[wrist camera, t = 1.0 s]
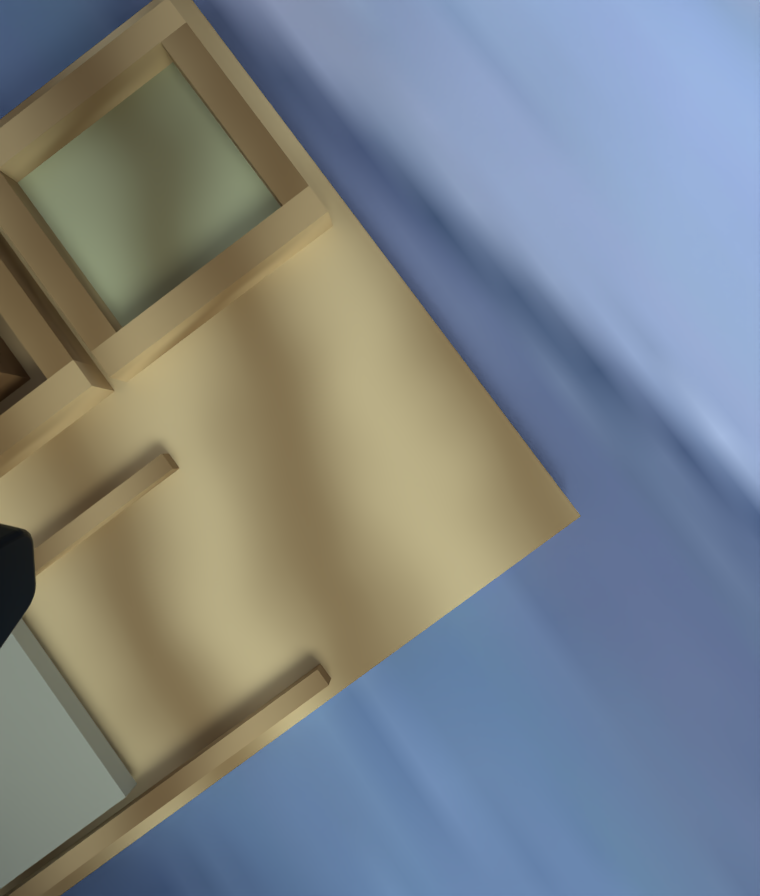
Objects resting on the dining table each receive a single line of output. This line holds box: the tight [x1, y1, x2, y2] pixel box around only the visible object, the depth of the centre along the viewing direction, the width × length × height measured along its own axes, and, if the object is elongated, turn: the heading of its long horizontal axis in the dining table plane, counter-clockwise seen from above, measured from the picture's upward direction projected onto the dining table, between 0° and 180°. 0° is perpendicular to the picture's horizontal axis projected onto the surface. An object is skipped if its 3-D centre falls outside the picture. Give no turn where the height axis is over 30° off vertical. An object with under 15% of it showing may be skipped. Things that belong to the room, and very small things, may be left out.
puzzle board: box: [0, 0, 580, 896], centre depth 21 cm, size 26×22×3 cm
